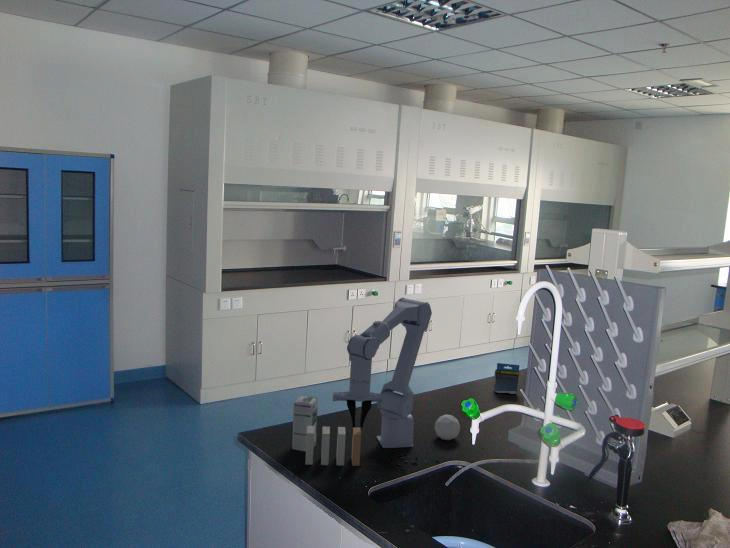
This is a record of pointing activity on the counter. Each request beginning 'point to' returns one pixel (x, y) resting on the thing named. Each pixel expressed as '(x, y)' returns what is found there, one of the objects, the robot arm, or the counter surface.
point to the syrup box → (304, 421)
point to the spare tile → (356, 446)
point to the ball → (447, 427)
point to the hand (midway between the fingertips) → (357, 426)
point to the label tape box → (506, 377)
